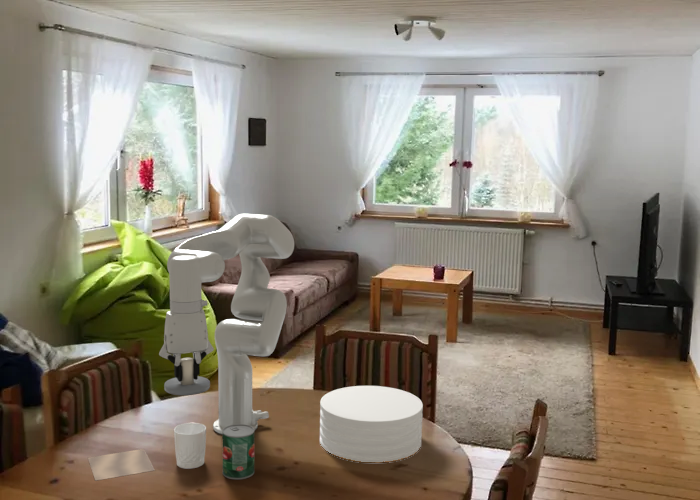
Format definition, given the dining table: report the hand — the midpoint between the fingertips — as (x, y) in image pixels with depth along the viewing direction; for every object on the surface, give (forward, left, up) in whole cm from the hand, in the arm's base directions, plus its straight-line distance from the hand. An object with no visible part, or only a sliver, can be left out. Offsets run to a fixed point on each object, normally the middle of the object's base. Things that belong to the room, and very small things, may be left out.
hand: (187, 378), depth 184 cm
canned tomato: (-11, +8, -23) cm, 27 cm away
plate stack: (-50, +4, -23) cm, 55 cm away
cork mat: (+15, -6, -23) cm, 28 cm away
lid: (0, 0, -2) cm, 2 cm away
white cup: (-1, 0, -23) cm, 23 cm away
